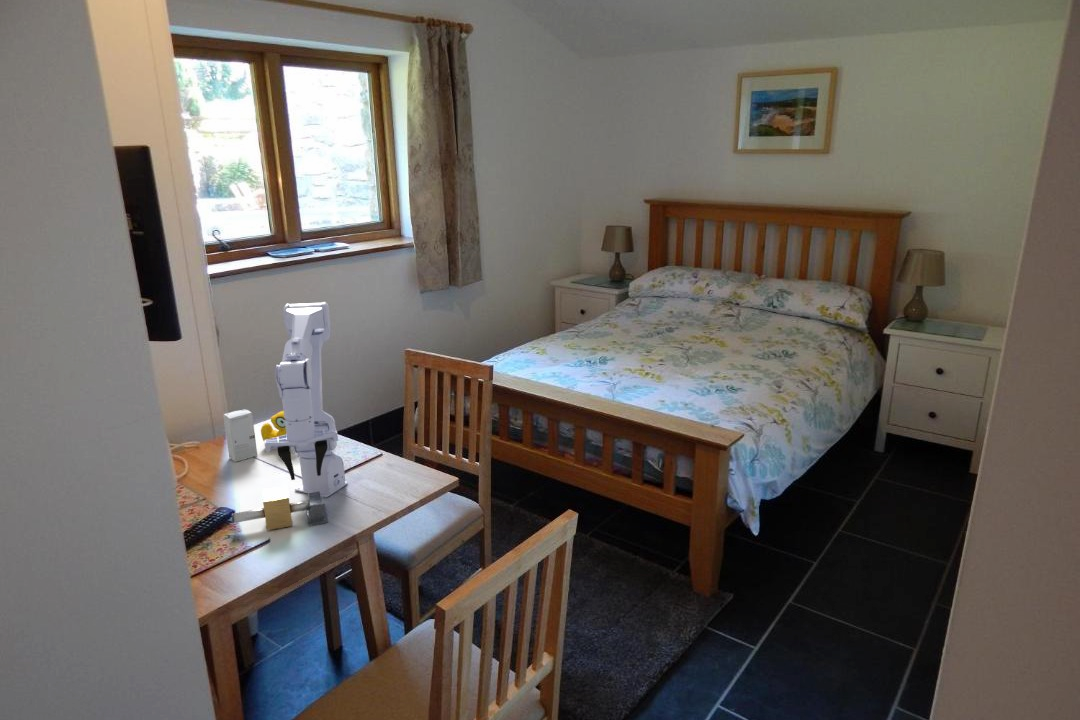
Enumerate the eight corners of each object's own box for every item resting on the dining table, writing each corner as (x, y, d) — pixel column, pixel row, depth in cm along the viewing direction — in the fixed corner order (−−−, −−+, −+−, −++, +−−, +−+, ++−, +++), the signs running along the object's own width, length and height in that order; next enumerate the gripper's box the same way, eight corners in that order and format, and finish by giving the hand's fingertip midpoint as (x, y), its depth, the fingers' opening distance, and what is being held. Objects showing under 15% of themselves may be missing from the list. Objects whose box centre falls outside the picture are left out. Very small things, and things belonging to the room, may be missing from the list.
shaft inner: (321, 504, 156) (321, 496, 156) (322, 508, 154) (321, 500, 154) (277, 512, 153) (276, 504, 152) (277, 516, 151) (276, 508, 151)
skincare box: (235, 462, 182) (228, 418, 178) (228, 457, 185) (221, 414, 181) (258, 455, 186) (252, 412, 182) (251, 450, 189) (245, 407, 186)
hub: (290, 512, 156) (287, 485, 154) (292, 525, 151) (288, 497, 149) (266, 516, 154) (262, 489, 153) (267, 530, 149) (263, 502, 147)
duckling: (308, 442, 194) (304, 408, 191) (300, 451, 188) (296, 415, 185) (268, 441, 194) (263, 407, 192) (259, 450, 189) (254, 415, 186)
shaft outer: (278, 512, 153) (276, 504, 152) (278, 516, 151) (277, 508, 151) (232, 520, 150) (231, 511, 149) (232, 525, 148) (231, 516, 148)
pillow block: (325, 505, 160) (323, 488, 158) (328, 522, 152) (326, 504, 151) (306, 509, 158) (304, 491, 157) (308, 526, 151) (306, 508, 150)
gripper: (261, 428, 142) (270, 490, 146) (336, 418, 147) (342, 477, 151) (261, 416, 148) (269, 475, 152) (333, 406, 153) (339, 464, 157)
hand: (306, 475), depth 152 cm, fingers open, 5 cm apart
